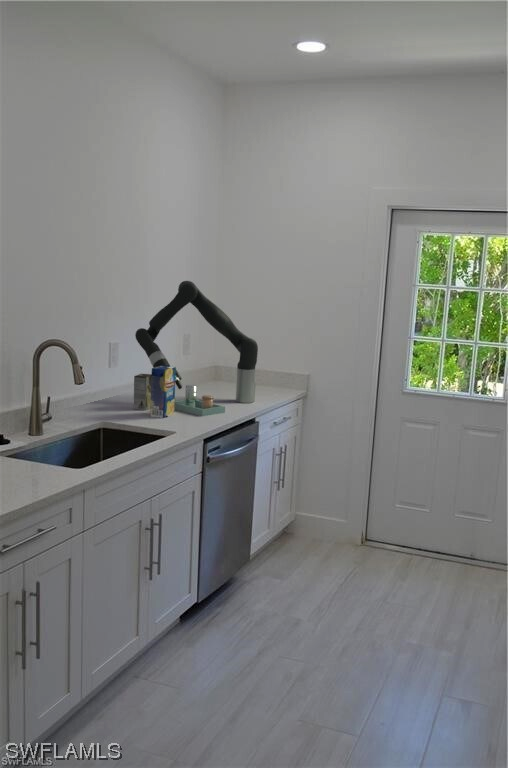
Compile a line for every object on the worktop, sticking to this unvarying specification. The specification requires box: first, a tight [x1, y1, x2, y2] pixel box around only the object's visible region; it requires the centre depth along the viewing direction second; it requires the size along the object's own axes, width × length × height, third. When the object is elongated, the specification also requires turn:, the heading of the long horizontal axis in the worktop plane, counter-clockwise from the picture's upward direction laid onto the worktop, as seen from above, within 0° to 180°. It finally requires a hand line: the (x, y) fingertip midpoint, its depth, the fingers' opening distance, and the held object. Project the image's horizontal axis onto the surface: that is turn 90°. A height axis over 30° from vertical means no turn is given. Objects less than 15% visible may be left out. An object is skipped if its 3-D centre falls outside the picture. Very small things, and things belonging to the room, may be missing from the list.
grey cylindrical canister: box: [184, 384, 198, 408], centre depth 356 cm, size 5×5×11 cm
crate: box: [174, 399, 226, 417], centre depth 353 cm, size 15×22×4 cm
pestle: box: [201, 394, 214, 409], centre depth 349 cm, size 5×5×8 cm
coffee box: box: [132, 373, 152, 411], centre depth 354 cm, size 9×6×16 cm
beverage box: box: [149, 365, 177, 419], centre depth 341 cm, size 7×11×22 cm, turn 161°
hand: (174, 388), depth 362 cm, fingers open, 8 cm apart
